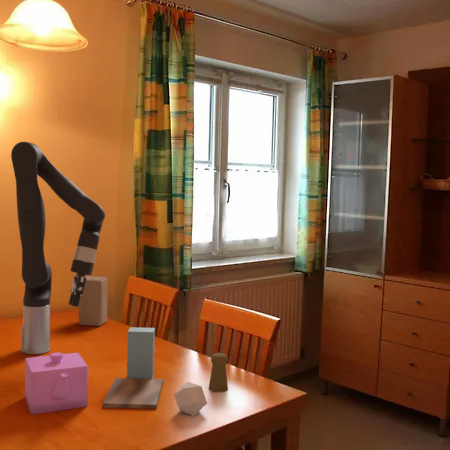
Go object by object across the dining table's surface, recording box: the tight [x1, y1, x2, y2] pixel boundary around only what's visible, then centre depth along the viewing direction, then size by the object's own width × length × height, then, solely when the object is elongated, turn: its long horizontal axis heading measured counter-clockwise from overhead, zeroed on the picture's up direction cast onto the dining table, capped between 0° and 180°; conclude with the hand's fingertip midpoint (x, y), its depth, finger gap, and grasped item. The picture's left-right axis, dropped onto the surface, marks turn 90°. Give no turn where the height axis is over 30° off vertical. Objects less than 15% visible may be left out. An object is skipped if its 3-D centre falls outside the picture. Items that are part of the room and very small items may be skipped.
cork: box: [208, 352, 229, 393], centre depth 175 cm, size 6×6×11 cm
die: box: [173, 381, 208, 417], centre depth 157 cm, size 8×9×10 cm
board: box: [102, 377, 164, 410], centre depth 168 cm, size 15×20×1 cm
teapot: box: [24, 352, 89, 415], centre depth 160 cm, size 15×25×14 cm, turn 26°
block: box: [78, 275, 109, 327], centre depth 245 cm, size 10×10×20 cm
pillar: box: [126, 326, 156, 379], centre depth 181 cm, size 8×5×16 cm, turn 91°
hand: (73, 305), depth 198 cm, fingers open, 8 cm apart
